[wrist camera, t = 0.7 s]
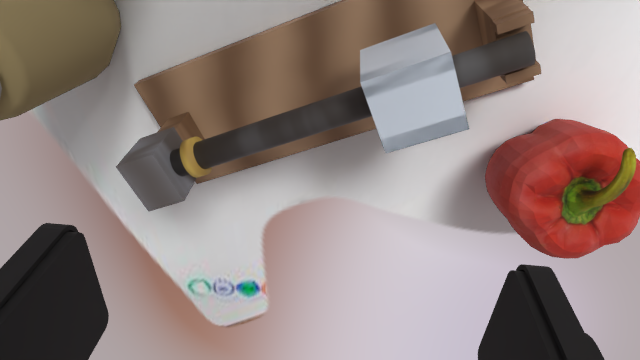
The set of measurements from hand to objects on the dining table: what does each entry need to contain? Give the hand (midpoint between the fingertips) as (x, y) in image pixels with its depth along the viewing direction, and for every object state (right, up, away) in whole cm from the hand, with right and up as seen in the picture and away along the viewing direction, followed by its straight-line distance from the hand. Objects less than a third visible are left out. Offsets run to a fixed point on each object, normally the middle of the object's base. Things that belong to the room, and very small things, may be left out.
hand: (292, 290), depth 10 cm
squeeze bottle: (-17, +15, +24) cm, 33 cm away
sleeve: (+6, +10, +20) cm, 23 cm away
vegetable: (+19, +5, +27) cm, 34 cm away
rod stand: (+1, +11, +25) cm, 27 cm away
